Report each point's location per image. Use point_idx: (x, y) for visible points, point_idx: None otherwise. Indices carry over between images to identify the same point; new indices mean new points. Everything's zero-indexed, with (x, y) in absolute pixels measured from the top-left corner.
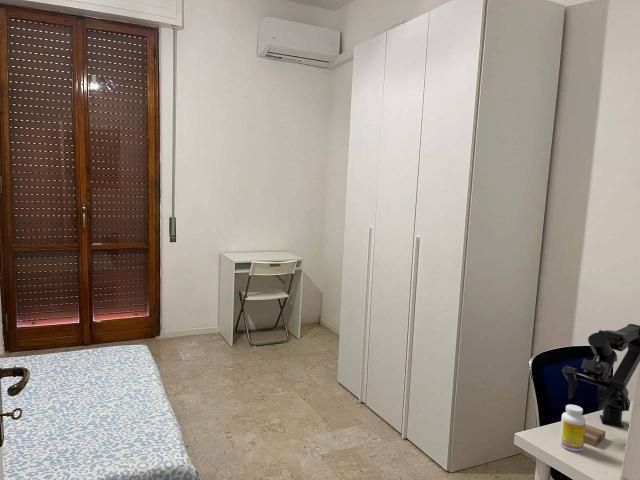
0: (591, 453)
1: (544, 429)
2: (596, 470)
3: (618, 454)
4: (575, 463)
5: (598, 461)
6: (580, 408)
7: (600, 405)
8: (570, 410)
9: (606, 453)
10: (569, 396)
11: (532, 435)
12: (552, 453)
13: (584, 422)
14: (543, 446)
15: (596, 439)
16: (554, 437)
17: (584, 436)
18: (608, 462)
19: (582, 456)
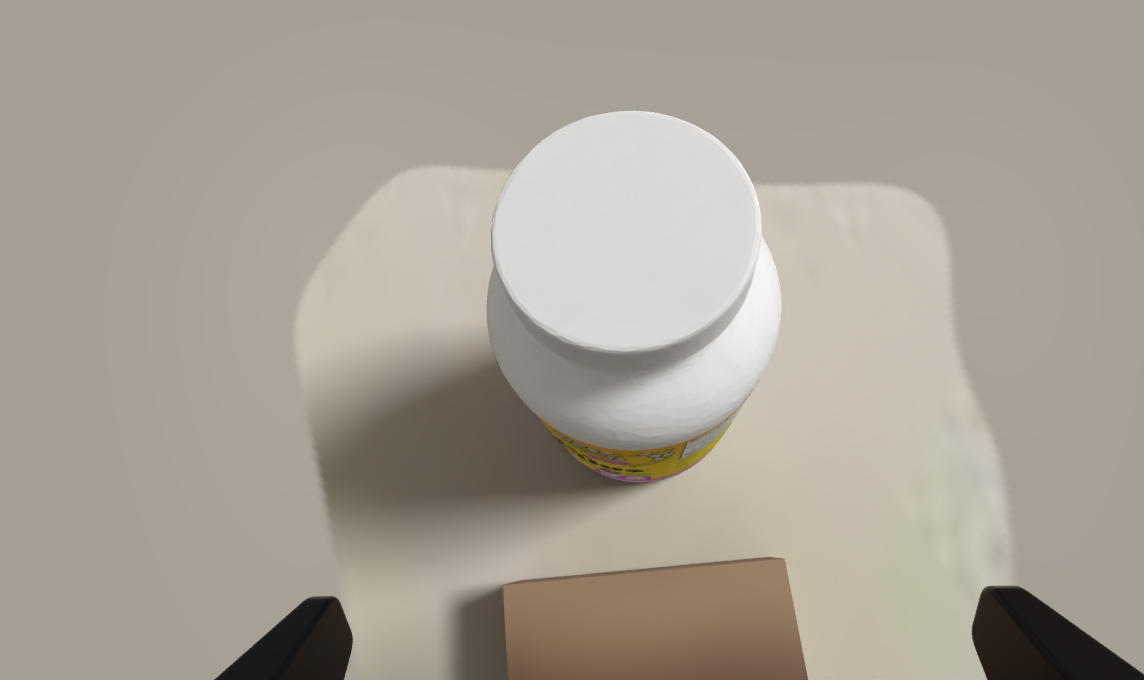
0: (492, 440)
1: (964, 482)
2: (379, 247)
3: None
4: None
5: (412, 370)
6: (548, 291)
7: (270, 647)
8: (621, 122)
9: (418, 557)
10: (1007, 601)
11: (921, 277)
12: None
13: (487, 311)
14: None
15: (505, 607)
16: (808, 418)
17: (610, 574)
18: (361, 423)
19: None
